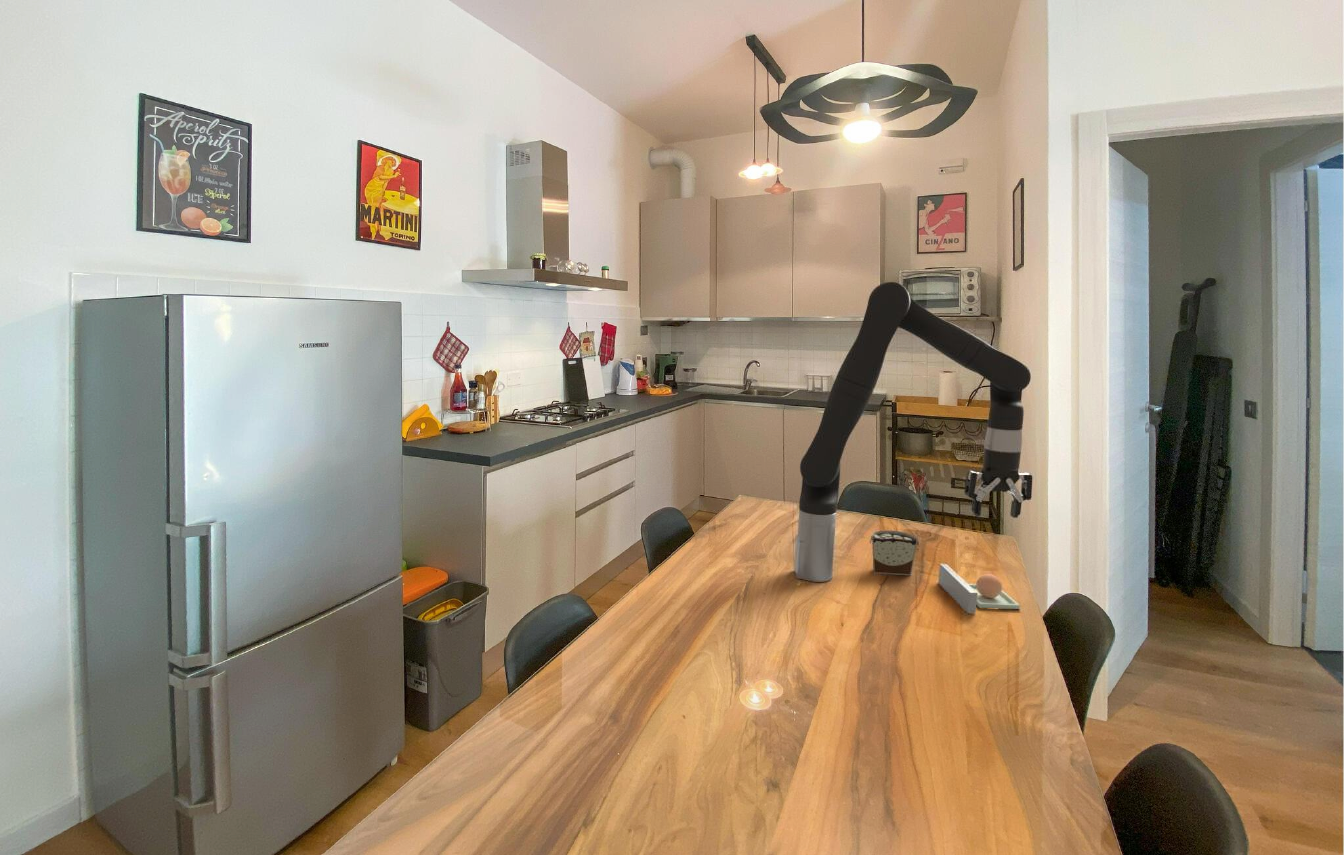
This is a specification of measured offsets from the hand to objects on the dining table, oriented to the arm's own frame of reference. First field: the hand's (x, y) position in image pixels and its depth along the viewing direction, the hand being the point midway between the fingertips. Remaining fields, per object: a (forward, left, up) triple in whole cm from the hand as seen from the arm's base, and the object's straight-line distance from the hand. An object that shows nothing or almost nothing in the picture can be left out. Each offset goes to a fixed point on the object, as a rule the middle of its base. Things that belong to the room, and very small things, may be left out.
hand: (995, 516), depth 152 cm
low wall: (-7, 0, -20) cm, 21 cm away
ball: (0, 0, -20) cm, 20 cm away
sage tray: (0, 0, -20) cm, 20 cm away
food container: (-18, +17, -20) cm, 32 cm away
